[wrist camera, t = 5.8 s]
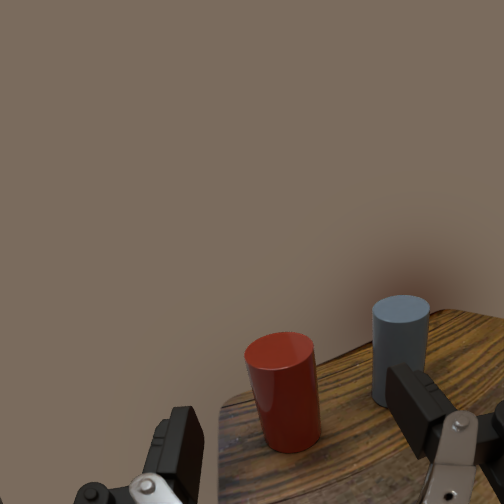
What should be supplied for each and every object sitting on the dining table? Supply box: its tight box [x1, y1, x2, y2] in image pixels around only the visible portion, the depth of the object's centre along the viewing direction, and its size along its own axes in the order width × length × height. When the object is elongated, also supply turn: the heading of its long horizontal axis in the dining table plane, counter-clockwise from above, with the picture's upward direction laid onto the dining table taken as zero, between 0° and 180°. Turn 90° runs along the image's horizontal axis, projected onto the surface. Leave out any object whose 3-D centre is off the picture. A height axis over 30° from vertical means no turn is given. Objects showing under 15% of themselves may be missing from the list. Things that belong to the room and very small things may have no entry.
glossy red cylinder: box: [244, 332, 321, 453], centre depth 24 cm, size 5×5×10 cm
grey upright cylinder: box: [371, 295, 430, 408], centre depth 26 cm, size 5×5×10 cm
